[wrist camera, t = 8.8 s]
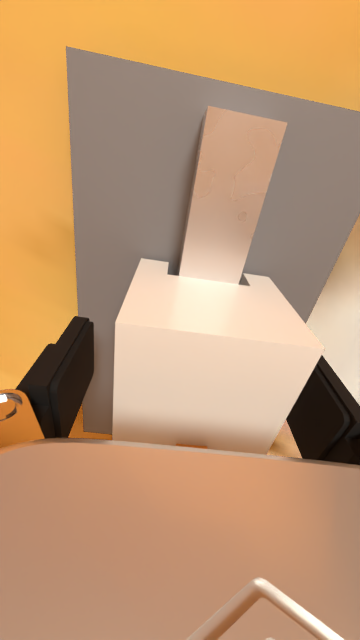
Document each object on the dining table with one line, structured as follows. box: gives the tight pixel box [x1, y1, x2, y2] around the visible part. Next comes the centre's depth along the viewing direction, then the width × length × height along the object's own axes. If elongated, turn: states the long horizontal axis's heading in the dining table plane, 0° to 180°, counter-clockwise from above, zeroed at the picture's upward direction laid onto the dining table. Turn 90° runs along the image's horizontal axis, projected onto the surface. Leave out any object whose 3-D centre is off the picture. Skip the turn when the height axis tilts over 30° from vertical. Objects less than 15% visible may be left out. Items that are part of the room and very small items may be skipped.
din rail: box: [177, 106, 287, 284], centre depth 13 cm, size 2×18×2 cm, turn 171°
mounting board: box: [66, 46, 360, 434], centre depth 15 cm, size 12×20×2 cm, turn 171°
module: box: [112, 258, 325, 455], centre depth 11 cm, size 6×7×6 cm
